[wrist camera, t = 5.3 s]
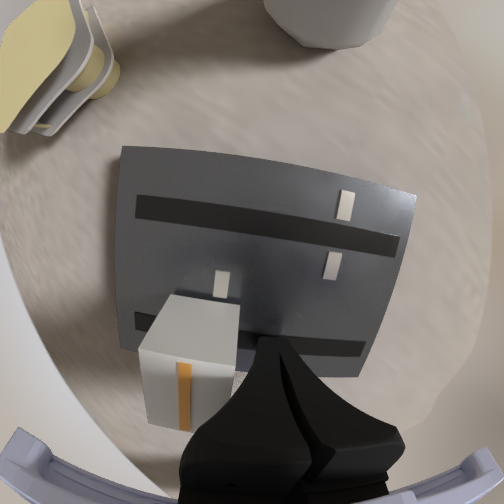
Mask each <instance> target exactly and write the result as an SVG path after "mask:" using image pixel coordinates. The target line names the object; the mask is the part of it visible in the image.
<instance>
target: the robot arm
mask: <svg viewBox="0 0 504 504" xmlns="http://www.w3.org/2000/svg"><path fill="white" fill-rule="evenodd" d="M404 450H405V444H404V442H403V440H402V437H401V435H400V433H399V431H398V429H397V428H396V427H395V426H393V425H390V424H388V423H385V422H383V421H380V420H378V419H376V418H373V417H372V416H370V415H368V414H366V413H364V412H362V411H360V410H359V409H357V408H355V407H354V406H352V405H351V404H349V403H348V402H346V401H345V400H343V399H342V398H341V397H339V396H338V395H337V394H336V393H334V392H333V391H332V390H331V389H330V388H329V387H327V386H326V385H325V384H324V383H323V382H322V381H321V380H320V379H319V378H318V377H317V376H316V375H315V374H314V373H313V372H312V370H311V369H310V368H309V367H308V366H307V364H306V363H305V362H304V361H303V360H302V358H301V357H300V356H299V354H298V353H297V352H296V350H295V349H294V347H293V346H292V345H291V343H290V342H289V341H288V339H282V338H272V337H263V336H261V337H260V338H258V343H257V348H256V353H255V357H254V362H253V364H252V366H251V368H250V370H249V372H248V374H247V376H246V377H245V379H244V381H243V382H242V384H241V385H240V387H239V388H238V389H237V391H236V392H235V393H234V395H233V396H232V397H231V398H230V399H229V401H228V402H227V403H226V404H225V405H224V406H223V407H222V408H221V409H220V410H219V411H218V412H217V413H216V414H215V415H214V416H212V417H211V418H210V419H209V420H207V421H206V422H205V423H204V424H202V425H201V426H200V427H198V429H197V430H196V432H195V433H194V435H193V436H192V438H191V439H190V441H189V442H188V444H187V446H186V448H185V450H184V452H183V454H182V457H181V462H180V467H179V477H180V485H181V487H180V493H179V498H178V500H176V499H172V498H167V497H162V496H159V495H155V494H151V493H147V492H143V491H140V490H137V489H133V488H130V487H127V486H124V485H121V484H118V483H115V482H113V481H110V480H107V479H105V478H102V477H99V476H97V475H95V474H92V473H90V472H87V471H85V470H83V469H81V468H78V467H76V466H74V465H72V464H70V463H68V462H66V461H64V460H62V459H60V458H58V457H57V456H54V455H53V454H52V452H51V450H50V449H49V447H48V446H47V445H46V444H44V443H43V442H42V441H41V440H39V439H38V438H36V437H35V436H33V435H31V434H29V433H28V432H26V431H25V430H23V429H22V428H20V427H18V428H17V430H16V431H15V432H14V434H13V435H12V437H11V439H10V440H9V442H8V443H7V445H6V446H5V448H4V449H3V451H2V452H1V454H0V479H2V480H3V481H4V482H5V483H6V484H7V485H8V486H9V487H11V488H12V489H13V490H14V491H15V492H17V493H18V494H19V495H20V496H21V497H23V498H24V499H25V500H27V501H28V502H30V503H31V504H473V503H475V502H476V501H478V500H479V499H480V498H481V497H483V496H484V495H485V494H487V493H488V492H489V491H490V490H492V489H493V488H494V487H495V486H496V485H497V484H499V483H500V482H501V481H502V480H503V479H504V475H503V473H502V471H501V470H500V468H499V467H498V465H497V463H496V461H495V460H494V458H493V457H492V455H491V453H490V452H489V450H488V449H487V447H486V446H484V447H482V448H480V449H479V450H477V451H475V452H473V453H472V454H470V455H469V456H468V457H466V458H465V459H464V460H463V461H462V462H461V464H460V465H458V466H456V467H454V468H452V469H450V470H447V471H445V472H443V473H440V474H438V475H436V476H433V477H431V478H429V479H426V480H423V481H421V482H418V483H415V484H412V485H409V486H406V487H403V488H400V489H397V490H394V491H390V492H389V491H388V489H387V486H386V483H385V481H387V480H388V478H389V477H388V475H387V472H386V471H387V470H388V469H389V468H390V467H391V466H392V465H393V464H394V463H395V462H396V461H397V460H398V459H399V458H400V457H401V456H402V454H403V452H404Z"/></svg>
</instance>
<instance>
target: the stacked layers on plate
mask: <svg viewBox="0 0 504 504" xmlns="http://www.w3.org/2000/svg"><path fill="white" fill-rule="evenodd" d="M119 77H120V65H119V63H118V62H117V61H116V60H115V59H114V54H113V51H112V48H111V46H110V44H109V41H108V39H107V37H106V34H105V32H104V29H103V27H102V24H101V22H100V20H99V17H98V15H97V12H96V10H95V8H94V7H93V6H91V7H89V8H87V9H86V10H85V9H83V7H82V4H81V1H80V0H37V1H35V2H34V3H33V4H32V5H31V6H29V7H28V8H27V9H26V10H25V11H24V12H23V13H22V14H21V15H19V16H18V17H17V18H16V19H15V20H14V21H13V22H12V23H11V24H10V25H9V26H8V27H7V28H6V31H5V33H4V36H3V39H2V42H1V45H0V133H4V132H5V131H6V130H8V131H12V132H15V133H19V134H27V133H28V132H29V131H30V132H34V133H38V134H41V135H45V136H52V135H54V134H55V133H56V132H57V131H58V130H59V129H60V128H61V127H62V125H63V124H64V123H65V122H66V121H67V120H68V119H69V118H70V117H71V116H72V114H73V113H74V112H75V111H76V110H77V109H78V108H79V107H80V106H81V105H82V104H83V103H84V102H85V101H86V100H87V99H88V98H90V99H98V98H101V97H103V96H105V95H107V94H108V93H109V92H110V91H111V90H112V89H113V88H114V87H115V85H116V84H117V82H118V80H119Z"/></svg>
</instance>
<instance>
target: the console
mask: <svg viewBox="0 0 504 504" xmlns="http://www.w3.org/2000/svg"><path fill="white" fill-rule="evenodd" d="M416 199H417V196H415V195H412V194H409V193H406V192H403V191H399V190H396V189H393V188H389V187H386V186H382V185H379V184H375V183H372V182H368V181H364V180H360V179H356V178H352V177H348V176H344V175H340V174H336V173H332V172H327V171H323V170H318V169H313V168H309V167H304V166H299V165H293V164H288V163H283V162H277V161H271V160H265V159H259V158H253V157H246V156H239V155H231V154H223V153H215V152H206V151H196V150H185V149H173V148H158V147H138V146H122V151H121V159H120V167H119V176H118V187H117V199H116V216H115V289H116V305H117V318H118V329H119V338H120V346H121V348H123V349H127V350H131V351H135V352H139V350H138V348H139V346H140V344H141V343H142V341H143V339H144V337H145V336H146V334H147V332H148V331H149V329H150V327H151V326H152V324H153V322H154V321H155V319H156V317H157V316H158V314H159V312H160V311H161V309H162V308H163V306H164V304H165V303H166V301H167V299H168V298H169V296H170V295H171V294H173V295H179V296H185V297H190V298H196V299H203V300H209V301H215V302H222V303H229V304H235V305H240V312H239V326H238V340H237V353H236V367H235V371H243V372H249V370H250V368H251V366H252V364H253V362H254V357H255V353H256V348H257V343H258V338H260V337H261V336H263V337H272V338H282V339H288V341H289V342H290V343H291V345H292V346H293V347H294V349H295V350H296V352H297V353H298V354H299V356H300V357H301V358H302V360H303V361H304V362H305V363H306V364H307V366H308V367H309V368H310V369H311V370H312V372H313V373H314V374H315V375H316V376H317V377H358V376H359V374H360V372H361V369H362V367H363V365H364V363H365V361H366V359H367V356H368V354H369V352H370V349H371V347H372V345H373V342H374V340H375V338H376V335H377V333H378V330H379V328H380V325H381V323H382V320H383V317H384V315H385V312H386V309H387V306H388V303H389V301H390V298H391V295H392V292H393V289H394V286H395V283H396V279H397V276H398V273H399V270H400V266H401V263H402V259H403V256H404V252H405V248H406V244H407V240H408V236H409V232H410V228H411V223H412V219H413V214H414V209H415V204H416Z"/></svg>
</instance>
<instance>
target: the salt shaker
mask: <svg viewBox="0 0 504 504" xmlns="http://www.w3.org/2000/svg"><path fill="white" fill-rule="evenodd" d="M263 2H264V7H265V10H266V11H267V12H268V13H269V15H270V16H271V17H272V18H273V20H274V21H275V22H276V24H277V25H278V26H279V27H280V28H282V29H283V30H284V31H285V32H286V33H288V34H289V35H290V36H291V37H292V38H294V39H295V40H296V41H297V42H298V43H299V44H300V45H302V46H303V47H309V48H323V49H334V50H341V49H347V48H354V47H360V46H361V45H363V44H364V43H366V42H368V41H369V40H371V39H373V38H374V37H376V36H378V35H379V34H381V32H382V30H383V28H384V26H385V24H386V22H387V20H388V18H389V16H390V14H391V12H392V10H393V8H394V6H395V4H396V2H397V0H263Z"/></svg>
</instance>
